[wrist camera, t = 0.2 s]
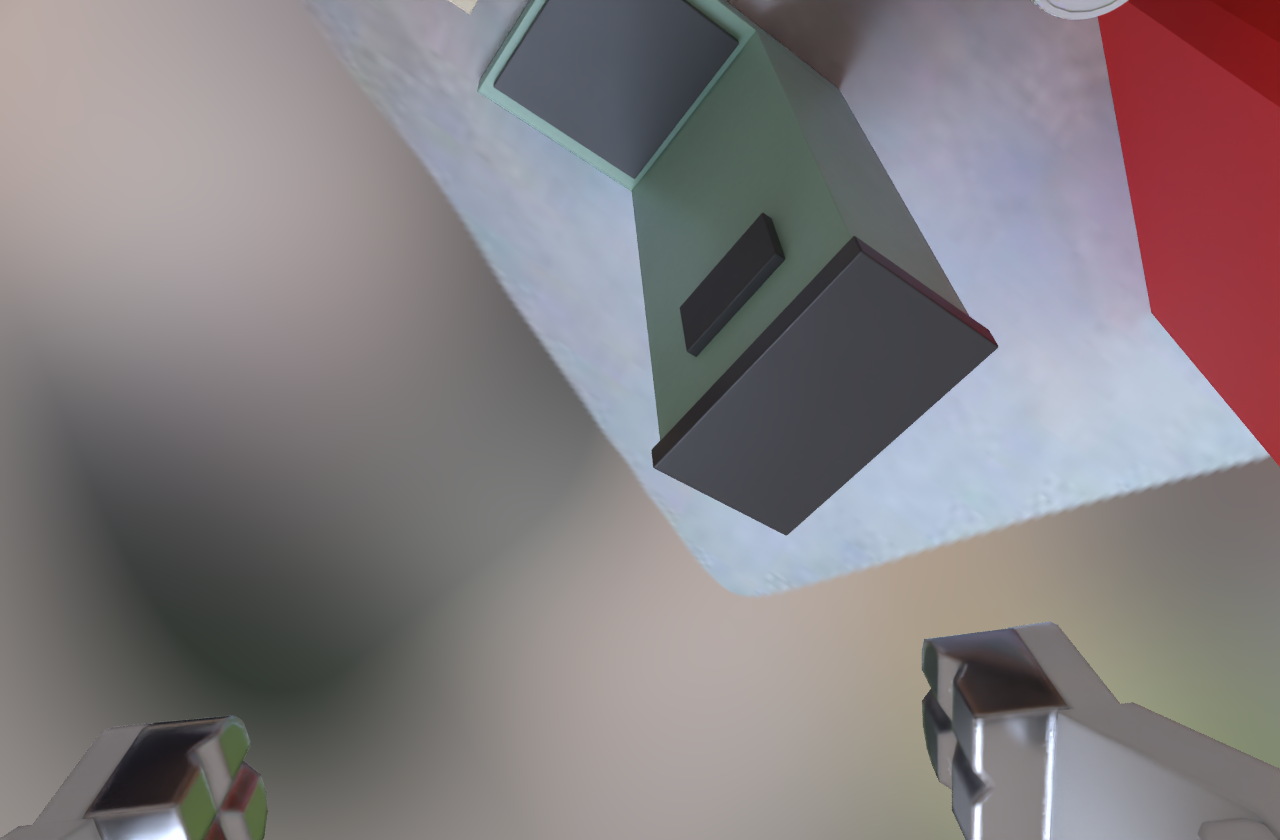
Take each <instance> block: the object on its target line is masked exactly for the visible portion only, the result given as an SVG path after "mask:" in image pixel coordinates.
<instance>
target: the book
mask: <svg viewBox="0 0 1280 840" xmlns="http://www.w3.org/2000/svg"><path fill="white" fill-rule="evenodd" d="M1098 20H1099V25H1100V31H1101V36H1102V42H1103V47H1104V53H1105V58H1106V64H1107V69H1108V75H1109V80H1110V86H1111V91H1112V97H1113V102H1114V108H1115V113H1116V119H1117V125H1118V130H1119V136H1120V141H1121V147H1122V152H1123V158H1124V163H1125V169H1126V174H1127V180H1128V185H1129V191H1130V196H1131V202H1132V207H1133V213H1134V219H1135V224H1136V230H1137V235H1138V241H1139V246H1140V252H1141V257H1142V263H1143V268H1144V274H1145V279H1146V285H1147V290H1148V296H1149V301H1150V307H1151V312H1152V314H1153V315H1154V316H1155V318H1156V319H1157V320H1158V321H1159V322H1160V324H1161V325H1162V326H1163V327H1164V328H1165V330H1166V331H1167V332H1168V333H1169V334H1170V336H1171V337H1172V338H1173V339H1174V340H1175V342H1176V343H1177V344H1178V345H1179V346H1180V348H1181V349H1182V350H1183V351H1184V352H1185V354H1186V355H1187V356H1188V357H1189V358H1190V360H1191V361H1192V362H1193V363H1194V364H1195V366H1196V367H1197V368H1198V369H1199V370H1200V372H1201V373H1202V374H1203V375H1204V376H1205V378H1206V379H1207V380H1208V381H1209V382H1210V384H1211V385H1212V386H1213V387H1214V388H1215V390H1216V391H1217V392H1218V393H1219V394H1220V396H1221V397H1222V398H1223V399H1224V400H1225V402H1226V403H1227V404H1228V405H1229V406H1230V408H1231V409H1232V410H1233V411H1234V412H1235V414H1236V415H1237V416H1238V417H1239V418H1240V420H1241V421H1242V422H1243V423H1244V424H1245V426H1246V427H1247V428H1248V429H1249V430H1250V432H1251V433H1252V434H1253V435H1254V436H1255V438H1256V439H1257V440H1258V441H1259V442H1260V444H1261V445H1262V446H1263V447H1264V448H1265V450H1266V451H1267V452H1268V453H1269V454H1270V456H1271V457H1272V458H1273V459H1274V460H1275V462H1276V463H1277V464H1278V465H1279V466H1280V0H1128V1H1127V2H1125V3H1124V4H1122V5H1121V6H1119V7H1118V8H1116V9H1114V10H1112V11H1110V12H1108V13H1106V14H1103V15H1100V16H1098Z"/></svg>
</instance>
